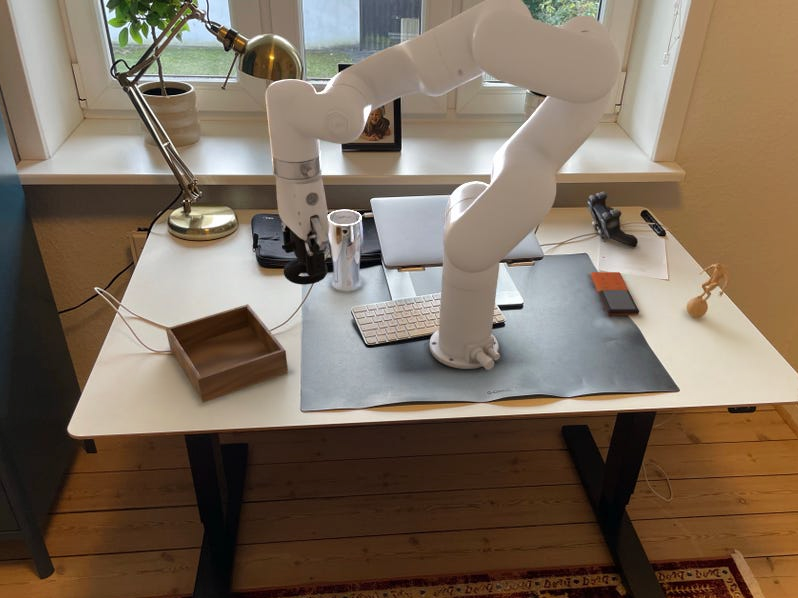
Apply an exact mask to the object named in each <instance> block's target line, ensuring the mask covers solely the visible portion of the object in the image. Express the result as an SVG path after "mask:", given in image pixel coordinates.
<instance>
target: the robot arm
mask: <svg viewBox="0 0 798 598" xmlns="http://www.w3.org/2000/svg"><path fill="white" fill-rule="evenodd" d="M485 74H486V75H487V76H490V77H491V78H493V79H494V80H495V79H496V80H498V81H501V82H503V83H506V84H508V85H511V86H514V87H517V88H520V89H523V90H527V91H531V92H533V93H537V94H540V95H543V96H546V97H545V98H544V100H543V101H542V103H541V104H539V106H538V107H537V108H536V110H535V111H534V112H533V113H532V115H531V116H529V118H528V119H527V120H526V121H525V122H524V123H523V124H522V125H521V127H519V128H518V130H516V131H515V133H514V134H513V135H512V136H511V137H510V138H509V139H508V140H507V141H506V142H505V143H504V144H503V145H502V146H501V147H500V148H499V150H498V151H496V153H495V154H494V157H493V159H492V162H491V166H490V168H491V169H490V183H489V184H487V183H485V182H482V181H468V182H466V183H463V184H461V185H460V186H459V187H457V188H456V189H455V190H453V192H452V193H451V194H450V196H449V198H448V200H447V203H446V207H445V210H444V221H443V222H444V223H443V235H442V236H443V240H442V245H443V255H442V270H441V271H442V272H441V287H440V303H439V304H440V305H439V319H438V320H439V322H438V329H437V330H436V331H434V332H433V333H432V335H431V336H430V339H429V352H430V353H431V355H432V356H433V357H434V358H435V359H436V360H437V361H438V362H440V364H444V365H445V366H448V367H451V368H454V369H459V370H472V369H473V370H474V369H479V368H484V369H485V370H487V371H490V370H492V369H493V368H494V366H495V361H499V360H500V358H501V354H500V353H499V342H498V340H497V337H496V336H495V335H494V334H493V326H494V325H493V323H494V316H495V305H496V299H497V298H496V297H497V289H498V280H499V272H500V264H501V263H500V262H501V261H502V260H504V259H505V258H506V257H507V256H508V255H509V254H510V253H511V252H512V251H513V250H514V249H515V248H516V247H517V246H518V245H519V244H520V243H522V241H523V240H524V239H526V237H527V236H529V235H530V234H531V233H532V232H533V231H534V230H535V229H536V228H537V227H538V226H539V225H540V224H541V223H542V222H543V220H545V219H546V217H547V216H548V214H549V213H550V211H551V210H552V208H553V205H554V203H555V200H556V196H557V180H556V177H557V174H558V173H559V171H560V169H562V167H563V166H564V165H565V164H566V163H567V162H568V161H569V160H570V159H571V158H572V156H574V154H575V153H577V151H578V150H580V149H579V148H581V147H582V146H583V144H584V143H586V141H587V140H588V139H589V138H590V136H591V135H592V134H593V133H594V131H595V129H596V128H597V127H598V125H599V123H600V121H601V120H602V118H603V116H604V114H605V111H606V109H607V106H608V103H609V100H610V97H611V93H612V89H613V88H614V86H615V85H616V83H617V80H618V77H619V74H620V60H619V55H618V52H617V50H616V48H615V46H614V44H613V40H612V37H611V36H610V34H609V31H608V30H607V29H606V27H605V26H604V25H603V24H602V23H601V21H599V20H598V19H596V18H595V17H592V16H589V15H577V16H574V17H572V18H570V19H568V20H566V21H565V22H564V23H563V24H561V26H560V27H558V26H555V25H553V24H549V23H548V22H547V23H546V22H545V21H544V22H543V21H541V20H539V19H536V18H533V15H532V13H531V11H530V9H529V8H528V6H527V5H526V3H524V1H523V0H483V1H480V2H479V3H478V4H475V5H474V6H472V7H470V8H467V9H466V10H464V11H462V12H460V13H459V14H457V15H455V16H452V18H449V19H448V20H446V21H443V23H441V24H439V25H437V26H435V27H433V28H430V29H428V30H426V31H425V32H422V33H421V34H419V35H417V36H415V37H413V38H410V39H407V40H405V41H402V42H400V43H398V44H394V45H392V46H388V47H386V48H384V49H381V50H379V51H377V52H375V53H373V54H371V55H369V56H367V57H365V58H363V59H361V60H359V61H357V62H356V63H354V64H352V65H350V66H348V67H346V68H345V69H343V70H341V71H340V72H338V73H337V74H335V75H334V76H333V77H332V78H331V79H330V80H329V82H328V83H327V85H326V86H325V88H324V90H322V91H320V92H317V91H316V88H315V87H314V86H313V84H311V83H310V82H308V81H305V80H301V79H292V78H290V79H289V78H288V79H281V80H276V81H274V82H272V83H271V84H269V85H268V87H267V88H266V91H265V106H266V115H267V124H268V133H269V134H268V135H269V145H270V152H271V153H270V155H271V164H272V174H273V176H274V178H275V187H276V188H275V190H276V191H275V192H276V205H277V211H278V216H279V219H280V220H281V223H280V224H281V225H280V227H281V230H282V238H283V245H285V244H288V243H290V242H291V240H290V229H291V230H292V231H293V232H294V233H295V234H296V235H297V236H298V237H300V238H301V239H303V240H304V243H305V246H306V249H307V254H305V256H306V268H307V271H306V274H307V276H311V275H315V274H318V273H321V272H324V271H325V270H326V269H325V264H326V254H325V253H326V250H327V247H328V238H327V234H328V233H329V223H328V215H329V214H328V206H327V199H326V198H327V197H326V193H325V188H324V187H325V186H324V182H323V179H322V177H321V175H322V173H323V171H322V155H321V154H322V153H321V141H324V142H327V143H331V144H337V145H346V144H350V143H352V142H354V141H356V140H358V139H359V137H360V136H361V135H362V134H363V132H364V130H365V127H366V124H367V122H368V118H369V116H370V114H371V112H373V111H375V110H377V109H379V108H381V107H382V106H385V105H386V104H388V103H391V102H392V101H393V102H394V101H395V100H397V99H400V98H401V97H402V98H403V97H404V96H409V95H413V94H423V95H427V96H430V97H439V96H440V97H441V96H443V95H445V94H447V93H449V92H450V91H452V90H454V89H456V88H459V87H460V86H463V85H465V84H466V83H468V82H470V81H473V80H475V79H477V78H479V77H481V76H483V75H485ZM310 231H313V232H314V234H313V235H310V236H307V234H309V232H310ZM314 238H316V239H317V243H316V244H314V245H313V246H312V247H311V243H310V239H314ZM284 252H285V253H286V254H290V253H294V251H293V249H284Z"/></svg>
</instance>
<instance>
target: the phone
mask: <svg viewBox="0 0 798 598" xmlns="http://www.w3.org/2000/svg"><path fill="white" fill-rule="evenodd" d="M590 278H591V280H592V283H593V285H594V288H595V289H596V291H597V294H598V295H599V298H600V300H601V303H602V305H603V308H604V310H605V312H606V315H608V316H638V315H639V314H640V310H639V308H638V306H637V304H636V302H635V300H634V298H633V296H632V294H631V292H630V290H629V287H628V286H627V284H626V282H625V280H624V278H623V276H622V274H621V273H620V272H619V271H593V272H591V273H590Z"/></svg>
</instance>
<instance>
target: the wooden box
mask: <svg viewBox="0 0 798 598" xmlns="http://www.w3.org/2000/svg"><path fill="white" fill-rule="evenodd" d="M165 332H166V336H167V341H168V346H169V350H170V352H171V354H172V355H173V357H174V359H175V360H176V362H177V363H178V365H179V367H180V368H181V370H182V372H183V374H184V376H185V377H186V378H187V380H188V381H189V383H190V385H191V387H192V388H193V389H194V391H195V392H196V394H197V396H198V398H199V399H200V400H201V402H202V403H206V402H208V401H211V400H214V399H217V398H219V397H223V396H225V395H228V394H231V393H234V392H237V391H240V390H243V389H246V388H248V387H251V386H254V385H257V384H260V383H262V382H265V381H269V380H272V379H274V378H277V377H279V376H283V375H286V374H288V373H289V369H288V360H287V351H286V349H285V348H284V346H283V345H282V343H280V341H279V340H278V339H277V338H276V337H275V335H274V334H273V333H272V332H271V331H270V329H269V328H268V327H267V325H265V323H264V322H263V321H262V320H261V318H260V317H259V316H258V315H257V313H256V311H255V310H254V309H253V308H252V307H251V306H250V305H249V304H248V303H247V304H244V305H239V306H236V307H234V308H230V309H227V310H224V311H220V312H217V313H213V314H210V315H206V316H204V317H199V318H197V319H193V320H190V321H187V322H183V323H180V324H177V325H173V326H170V327H166V328H165Z"/></svg>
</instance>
